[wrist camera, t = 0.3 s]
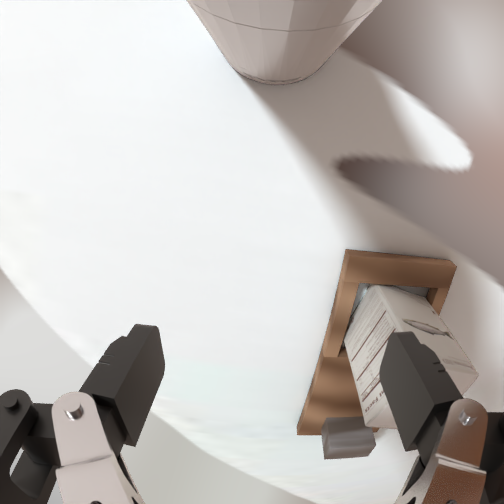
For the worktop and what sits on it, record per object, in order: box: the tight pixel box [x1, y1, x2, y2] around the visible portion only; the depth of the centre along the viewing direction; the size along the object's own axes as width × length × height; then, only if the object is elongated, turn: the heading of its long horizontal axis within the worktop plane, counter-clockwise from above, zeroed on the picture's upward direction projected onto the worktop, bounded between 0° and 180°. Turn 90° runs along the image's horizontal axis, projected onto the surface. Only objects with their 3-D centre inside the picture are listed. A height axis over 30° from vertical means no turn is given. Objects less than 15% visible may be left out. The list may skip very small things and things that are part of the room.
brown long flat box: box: [297, 249, 457, 459], centre depth 29 cm, size 27×12×6 cm, turn 175°
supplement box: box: [343, 284, 478, 429], centre depth 24 cm, size 7×7×13 cm
